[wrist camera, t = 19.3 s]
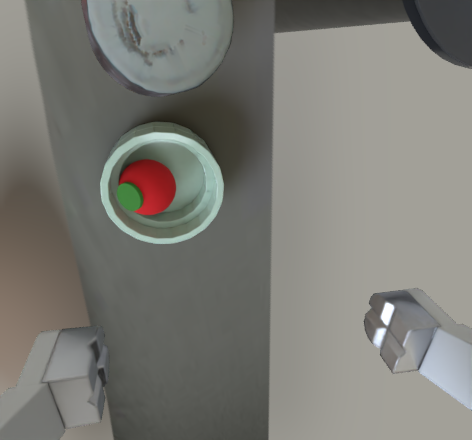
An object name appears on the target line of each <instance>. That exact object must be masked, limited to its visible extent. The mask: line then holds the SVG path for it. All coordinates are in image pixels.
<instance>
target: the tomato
mask: <svg viewBox="0 0 472 440" xmlns="http://www.w3.org/2000/svg"><path fill="white" fill-rule="evenodd" d="M175 193H176V182H175V179H174V176H173V174H172V173H171V171H170V170H169V169H168V168H167V167H166V166H165V165H163V164H162V163H160V162H158V161H155V160H151V159H143V160H138V161H135V162H133V163H131V164H130V165H129V166H127V167H126V168H125V170H124V171H123V172H122V174H121V176H120V179H119V186H118V188H117V197H118V200H119V202H120V203H121V205H122V206H123V207H124V208H125V209H127V210H129V211H134V212H136V213H139V214H142V215H154V214H157V213H160V212H162V211H164V210H165V209H166V208H167V207H169V205H170V204H171V203H172V201H173V199H174V197H175Z"/></svg>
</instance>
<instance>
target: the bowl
mask: <svg viewBox="0 0 472 440" xmlns="http://www.w3.org/2000/svg"><path fill="white" fill-rule="evenodd" d="M143 159H151V160H155V161H158V162H160V163H162V164H163V165H165V166H166V167H167V168H168V169H169V170H170V171H171V173H172V174H173V176H174V179H175V182H176V193H175V197H174V199H173V201H172V203H171V204H170V205H169V207H167V208H166V209H165V210H164V211H162V212H160V213H157V214H154V215H142V214H139V213H136V212H134V211H129V210H127V209H125V208H124V207H123V206H122V205H121V203H120V202H119V200H118V197H117V188H118V186H119V179H120V176H121V174H122V172H123V171H124V170H125V168H126V167H127V166H129V165H130V164H131V163H133V162H135V161H138V160H143ZM100 188H101V199H102V203H103V205H104V207H105V209H106V211H107V213H108V215H109V217H110V218H111V220H112V221H113V222H114V223H115V224H116V225H117V226H118V227H119V228H120V229H121V230H122V231H124V232H125V233H127V234H129V235H131V236H132V237H134V238H136V239H138V240H142V241H146V242H150V243H154V244H170V243H177V242H180V241H183V240H187V239H190V238H192V237H193V236H195V235H196V234H198V233H200V232H201V231H203V230H204V229H205V228H206V227H207V226H208V225H209V224H210V223H211V222H212V220H213V219H214V218H215V217H216V215H217V213H218V211H219V208H220V206H221V204H222V201H223V191H224V182H223V178H222V174H221V170H220V167H219V165H218V163H217V161H216V159H215V158H214V156H213V154H212V152H211V151H210V149H209V148H208V146H207V145H206V143H205V141H204V140H203V139H202V138H200V137H199V136H198V135H197V134H195V133H194V132H193V131H192V130H190V129H188V128H185V127H183V126H180V125H178V124H175V123H170V122H151V123H147V124H143V125H140V126H137V127H135V128H133V129H132V130H130V131H129V132H127V133H126V134H124V135H123V136H122V137H120V139H119V140H118V141H117V143H116V144H115V145H114V147H113V148H112V149H111V151H110V154H109V156H108V159H107V161H106V164H105V166H104V170H103V174H102V177H101V181H100Z"/></svg>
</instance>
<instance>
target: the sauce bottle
mask: <svg viewBox="0 0 472 440" xmlns="http://www.w3.org/2000/svg"><path fill="white" fill-rule="evenodd" d="M81 5H82V9H83V14H84V18H85V23H86V28H87V32H88V37H89V41H90V44H91V47H92V50H93V52H94V54H95V56H96V58H97V60H98V61H99V63H100V64H101V66H102V67H103V69H104V70H105V71H106V72H107V73H108V74H109V75H110V76H111V77H112V78H113V79H114V80H115V81H116V82H118V83H119V84H120V85H122V86H124V87H125V88H127V89H129V90H131V91H133V92H135V93H138V94H141V95H145V96H151V97H163V96H168V95H172V94H175V93H180V92H185V91H188V90H191V89H194V88H197V87H198V86H200V85H202V84H203V83H204V82H205V81H206V80H207V79H209V78H210V77H211V76H212V74H213V73H214V72H215V71H216V70H217V69H218V67H219V66H220V65H221V63H222V62H223V60H224V57H225V55H226V53H227V51H228V49H229V47H230V44H231V38H232V33H233V23H234V20H233V6H232V0H81Z"/></svg>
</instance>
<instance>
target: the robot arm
mask: <svg viewBox="0 0 472 440" xmlns="http://www.w3.org/2000/svg"><path fill="white" fill-rule="evenodd" d="M369 304H370V306H371V309H370V310H369V311H368V312H367V313H366V315H365V319H364V326H365V331H366V334H367V336H368V338H369V340H370V341H371V343H372V344H374V345H375V346H377V347H379V348H380V349H381V350H380V356H381V357H382V359H383V360H384V362H385V363H386V364H387V366H388V367H389V369H390V370H391V372H392V373H393V374H395V373H403V372H410V371H417V370H419V373H421V374H422V375H423V376H425V377H426V378H428V379H429V380H430V381H432V382H433V383H434V384H436V385H437V386H438V387H440V388H441V389H443V390H444V391H445V392H447V393H448V394H449V395H451V396H452V397H454V398H455V399H456V400H458V401H459V402H460V403H462V404H463V405H465V406H466V407H467V408H469V409H470V410H471V411H472V328H470V327H468V326H466V325H464V324H456V322H455V321H454V320H453V319H452V318H451V317H449V315H448V314H446V313H445V312H444V311H443V310H442V309H441V308H440V307H439V306H438V305H437V304H436V303H435V302H434V301H433V300H432V299H431V298H430V297H429V296H428V295H427V294H426V293H425V292H424V291H422V290H420V289H418V288H414V289H406V290H398V291H390V292H383V293H375V294H373V295H372V296H371V298H370V301H369ZM104 338H105V334H104V330H103V327H102V326H90V327H79V328H69V329H62V330H52V331H42V332H41V333H40V334H39V335H38V336H37V338H36V340H35V342H34V345H33V348H32V350H31V352H30V354H29V357H28V359H27V361H26V363H25V366H24V368H23V370H22V373H21V376H20V377H19V380H18V382H17V384H16V387H13V388H8V389H7V390H6V391H5V392H4V393H3V394H2V395H0V440H60V438H61V437H62V436H63V434H64V433H65V429H69V428H74V427H79V426H84V425H90V424H95V423H100V422H101V420H102V414H103V407H104V402H105V395H104V390H103V387H104V386H105V385H106V384H107V382H108V377H109V363H110V360H109V351H108V347H107V346H106V345H104V344H103V343H104Z"/></svg>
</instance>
